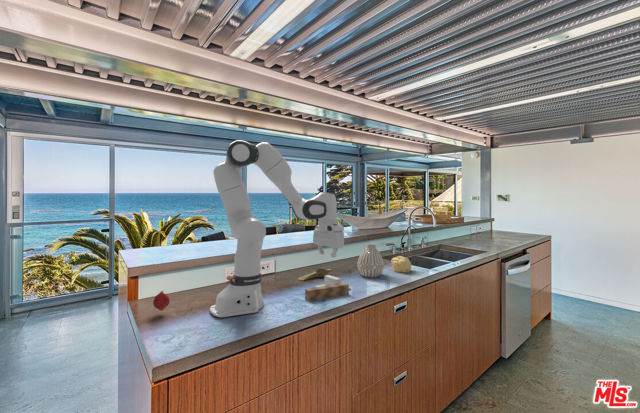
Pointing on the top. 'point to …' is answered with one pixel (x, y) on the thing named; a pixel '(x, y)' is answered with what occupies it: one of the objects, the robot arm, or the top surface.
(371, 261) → the vase
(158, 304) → the onion
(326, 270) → the tool
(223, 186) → the robot arm
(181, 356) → the top surface
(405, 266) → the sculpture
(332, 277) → the white piece
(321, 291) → the walnut bar
